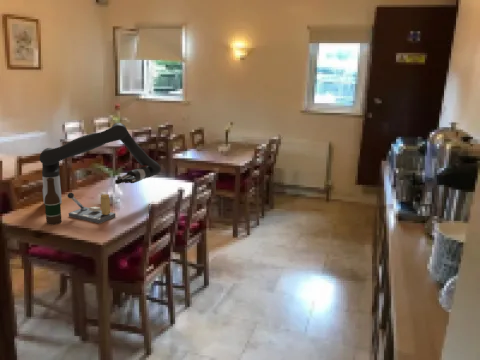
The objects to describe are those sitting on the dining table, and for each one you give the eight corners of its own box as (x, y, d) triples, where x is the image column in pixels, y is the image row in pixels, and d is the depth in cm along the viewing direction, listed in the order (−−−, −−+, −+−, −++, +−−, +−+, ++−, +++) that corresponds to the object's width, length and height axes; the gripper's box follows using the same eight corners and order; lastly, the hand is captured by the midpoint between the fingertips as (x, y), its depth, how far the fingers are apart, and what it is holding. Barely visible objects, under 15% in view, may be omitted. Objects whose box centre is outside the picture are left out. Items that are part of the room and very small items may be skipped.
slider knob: (100, 214, 221) (99, 195, 219) (105, 212, 225) (104, 193, 222) (106, 215, 220) (105, 196, 217) (111, 213, 223) (110, 194, 221)
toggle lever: (78, 209, 228) (65, 195, 217) (81, 204, 229) (68, 190, 219) (83, 210, 226) (69, 196, 216) (86, 205, 228) (72, 191, 218)
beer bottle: (49, 219, 218) (45, 176, 212) (64, 219, 219) (60, 176, 213) (43, 224, 210) (39, 180, 204) (59, 224, 211) (55, 180, 205)
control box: (68, 216, 223) (68, 212, 223) (85, 210, 234) (85, 206, 233) (100, 223, 215) (99, 219, 214) (115, 216, 225) (115, 212, 225)
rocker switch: (89, 210, 224) (89, 207, 224) (94, 209, 228) (95, 206, 228) (94, 211, 223) (94, 208, 223) (100, 210, 227) (100, 207, 227)
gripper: (126, 168, 243) (106, 174, 228) (144, 170, 238) (125, 177, 223) (127, 180, 245) (107, 187, 230) (145, 183, 240) (125, 190, 225)
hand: (116, 182), depth 226 cm, fingers closed
